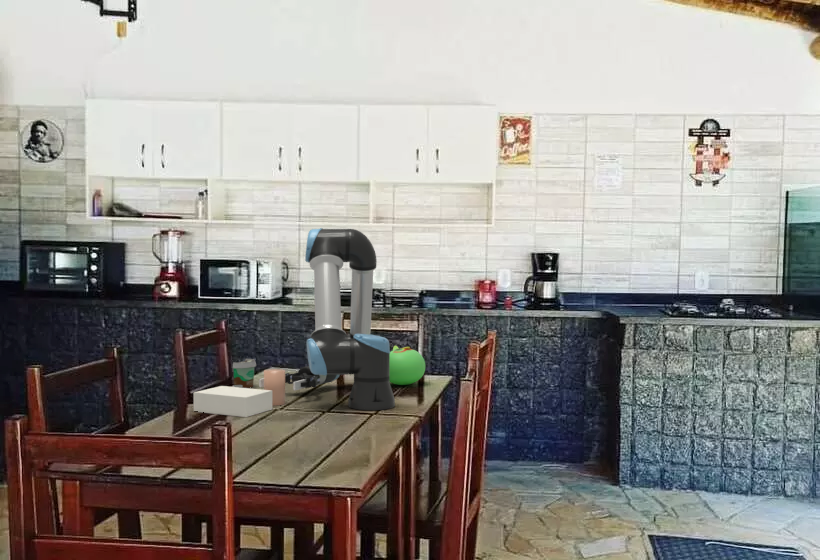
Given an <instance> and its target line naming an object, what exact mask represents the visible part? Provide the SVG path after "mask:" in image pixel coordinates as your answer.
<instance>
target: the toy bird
mask: <svg viewBox="0 0 820 560" xmlns="http://www.w3.org/2000/svg"><path fill="white" fill-rule="evenodd" d="M389 366H390V384H391V383H392V384H394V385H398V386H408V385H411V384H412V385H413V384H414V383H417V382H418V381H419V380H420V379H422V378H423V376H424V374H425V373H426V361H425V358H424V357H423V356H422V354H421V353H420V352H418V351H417V350H415V349H412V348H411V347H410V346H405V347H400V348H399V347H398V346H397V345H394V346H393V348H392V350H390V363H389Z"/></svg>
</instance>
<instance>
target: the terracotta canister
mask: <svg viewBox="0 0 820 560" xmlns="http://www.w3.org/2000/svg"><path fill="white" fill-rule="evenodd" d="M285 374H286V369H283V368H281V369H280V368H269V369H264V370H263V378H264V387H263V390H272V407H273V406H274V407H276V406H283V405H285V404H286V383H285Z"/></svg>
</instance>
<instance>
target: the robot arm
mask: <svg viewBox="0 0 820 560" xmlns="http://www.w3.org/2000/svg"><path fill="white" fill-rule="evenodd" d="M304 259H305V262H306V263H308V264H309V267H310V268H311V270H313V273H314V275H313V278H314V280H313V281H314V320H315V323H314V324H315V330H314V331H312V333H311V334H310V338H308V339H306V353H307V354H306V355H307V360H308V361H307V362H308V365H306V366H303V367H300V368H299V369H298V371H297V372H294V373H289V372H287V373H286V372H285V384H289V385H292V390H293V391H298V390H302V389H304V388H305V389H309V388H317V386H319V385H323V384H328V383H332V382H334V381H336V380H337V379H338V378H340V376H341V375H343V376H344V375H346V376H347V375H353V384H352V387H351V391H350V394H349V397H348V402H347V403H348V404H347V405H348V407H349V408H351V409H354V410H360V411H362V410H363V411H380V410H381V411H382V410H389V409H393V408H394V407H395V406H396V405H395V404H396V400H395V399H396V398H395V396H394V395H395V394H394V393H393V392H394V391H393V389H392V386H391V382H390V366H389V363H390V352H391V350H390V349H391V347H390V341H389V340H388V338H386V337H384V336H379V335H374V334H372V333H371V331H372V330H371V329H372V308H373V307H372V306H373V305H372V304H373V287H374V285H373V283H374V270H376V269H377V253H376V251H375V247H374V245H373V244H372V242H371V241H370V239H369V238H368V237H367V236H366V234H364V233H363V232H362V231H360V230H357V229H354V228H322V227H321V228H312V229H310V230H309V231H308V234H307V238H306V248H305V258H304ZM344 263H349V266H348V267H349V269H351V291H350V292H351V294H350V322H349V323H350V327H349V329H350V330H349V333H350V334H347V333H346V331H345V330H344V329H342V313H341V312H342V311H341V309H342V307H341V306H342V305H341V284H340V283H341V281H340V270H341V269H343V266H344ZM258 383H259V385H258V387H259V388H264V377H262V378H260V379H258Z"/></svg>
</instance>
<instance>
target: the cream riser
mask: <svg viewBox="0 0 820 560" xmlns="http://www.w3.org/2000/svg"><path fill="white" fill-rule="evenodd" d="M270 410H271V411H272V410H273V406H272V390H264V389H259V388H239V387H234V386H227V385H219V386H215V387H211V388H207V389H202V390H199V391H194V392H193V412H194V411H198V412H197V413H203V412H204V414H214V415H223V416H232V417H240V418H247V417H251V416H255V415H258V414H261V413H264V412H268V411H270Z"/></svg>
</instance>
